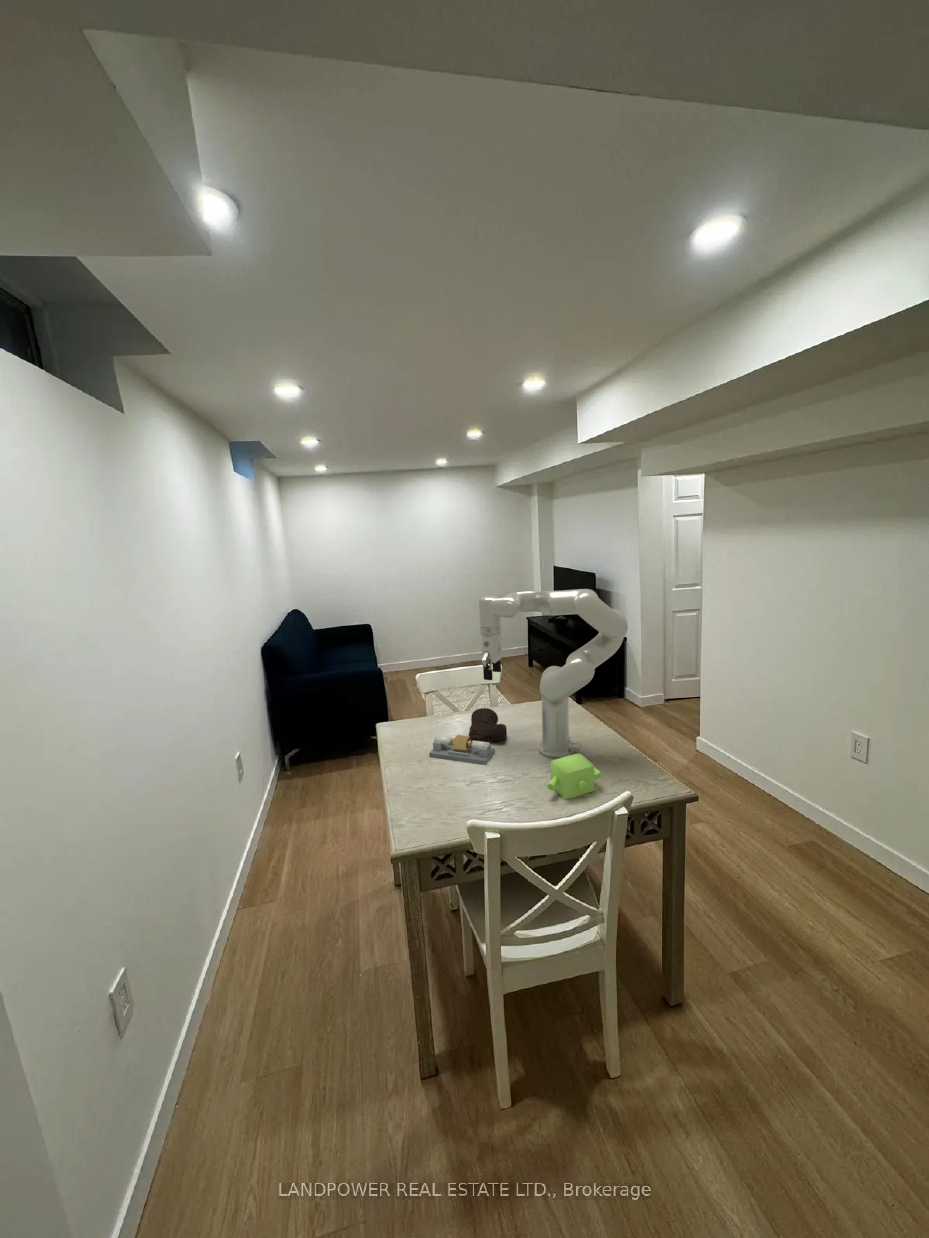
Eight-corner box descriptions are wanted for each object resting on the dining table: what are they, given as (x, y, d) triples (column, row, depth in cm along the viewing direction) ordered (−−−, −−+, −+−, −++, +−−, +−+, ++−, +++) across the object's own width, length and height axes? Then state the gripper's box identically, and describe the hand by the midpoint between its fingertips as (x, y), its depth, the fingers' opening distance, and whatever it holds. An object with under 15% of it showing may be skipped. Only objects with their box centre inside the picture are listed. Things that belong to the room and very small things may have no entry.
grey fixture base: (494, 752, 181) (494, 737, 180) (485, 764, 172) (484, 749, 171) (440, 745, 190) (440, 730, 189) (429, 756, 181) (428, 741, 180)
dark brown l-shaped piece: (503, 727, 185) (506, 706, 198) (464, 729, 187) (470, 708, 201) (506, 749, 188) (509, 726, 202) (468, 750, 191) (473, 728, 205)
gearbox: (555, 807, 146) (555, 779, 143) (538, 790, 155) (538, 763, 152) (605, 792, 152) (606, 764, 150) (586, 776, 161) (586, 750, 158)
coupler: (473, 749, 181) (473, 736, 180) (469, 754, 177) (468, 741, 176) (455, 746, 184) (454, 734, 183) (450, 752, 180) (449, 739, 179)
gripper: (492, 636, 167) (494, 683, 171) (507, 625, 183) (509, 669, 186) (472, 635, 170) (474, 682, 174) (488, 624, 186) (490, 668, 189)
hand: (492, 675), depth 180 cm, fingers open, 9 cm apart
